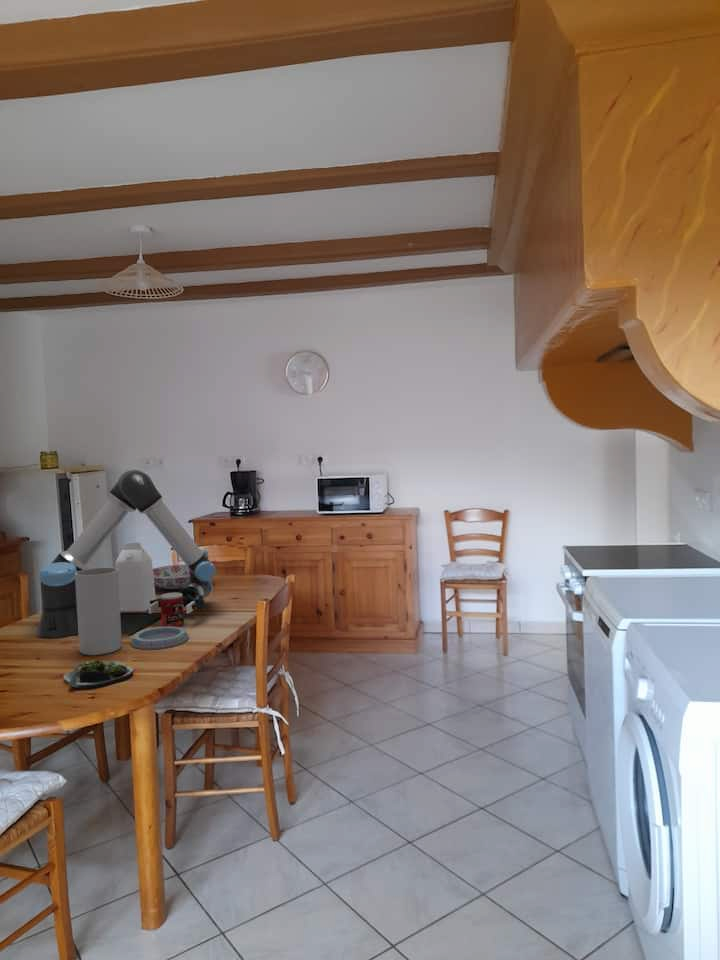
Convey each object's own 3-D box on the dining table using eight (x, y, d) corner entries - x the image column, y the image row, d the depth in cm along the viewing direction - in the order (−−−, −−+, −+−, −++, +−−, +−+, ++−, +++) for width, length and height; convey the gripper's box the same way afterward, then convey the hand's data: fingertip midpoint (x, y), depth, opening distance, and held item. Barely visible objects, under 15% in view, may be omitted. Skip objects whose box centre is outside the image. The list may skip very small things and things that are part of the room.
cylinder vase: (128, 643, 216) (123, 567, 215) (112, 655, 204) (108, 574, 202) (89, 644, 217) (85, 568, 215) (72, 656, 204) (67, 576, 203)
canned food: (167, 630, 231) (165, 598, 230) (158, 625, 237) (156, 594, 236) (188, 625, 235) (186, 594, 235) (178, 621, 242) (176, 591, 241)
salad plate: (49, 678, 187) (48, 661, 187) (112, 662, 199) (111, 646, 199) (74, 696, 173) (73, 678, 172) (140, 677, 185) (139, 661, 185)
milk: (156, 603, 269) (153, 540, 268) (144, 611, 258) (140, 544, 256) (127, 604, 270) (124, 540, 269) (114, 611, 259) (111, 545, 257)
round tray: (146, 653, 205) (146, 645, 205) (121, 642, 218) (121, 634, 218) (198, 640, 217) (198, 632, 217) (172, 629, 230) (171, 622, 230)
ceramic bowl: (158, 599, 277) (157, 580, 277) (135, 587, 301) (134, 570, 300) (223, 588, 295) (222, 570, 294) (196, 578, 318) (196, 561, 318)
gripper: (222, 605, 252) (203, 620, 231) (159, 605, 255) (134, 620, 234) (222, 585, 252) (202, 599, 231) (158, 585, 255) (133, 599, 234)
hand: (168, 609), depth 232 cm, fingers open, 13 cm apart
